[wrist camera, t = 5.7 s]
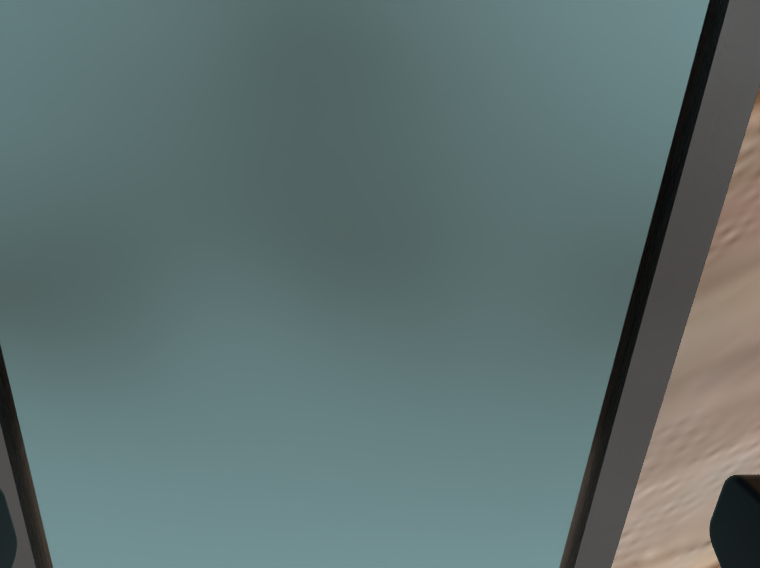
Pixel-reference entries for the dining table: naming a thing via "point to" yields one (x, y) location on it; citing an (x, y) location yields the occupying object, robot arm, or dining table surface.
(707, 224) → the grey drawer box
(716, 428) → the dining table surface
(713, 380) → the dining table surface
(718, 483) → the dining table surface
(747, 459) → the dining table surface
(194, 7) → the sliding box lid
